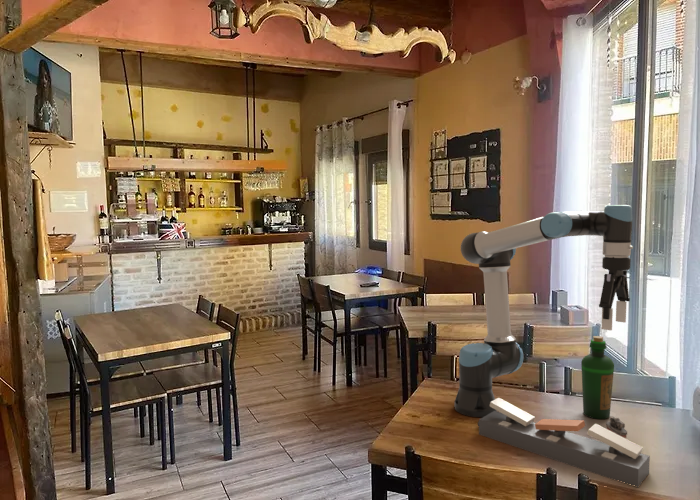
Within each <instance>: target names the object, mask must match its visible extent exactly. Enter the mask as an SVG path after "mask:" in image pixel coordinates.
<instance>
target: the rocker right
mask: <svg viewBox="0 0 700 500" xmlns="http://www.w3.org/2000/svg"><path fill="white" fill-rule="evenodd" d="M586 435H588V436H590V437H592V438H593V439H595V440H597V441H600V442H603V443H605V444H607V445H609V446H611V447H613V448H615V449H617V450H619V451H620V452H622V453H624V454H626V455H628V456H630V457H632V458H634V459H636V458H637V457H638V456H639V455H640V454H641V453H643V449H644V447H643V446H642V445H639V444H638V443H635V442H633V441H631V440H629V439H627V438H626V439H625V438H623V437H622V436H620V435H618V434H616V433H614V432H612V431H610V430H608V429H607V427H606V428H605V427H603V426H601V425H599V424H598V423H594V424H593V425H592V426H591V427H590V428H588V430H587V433H586Z"/></svg>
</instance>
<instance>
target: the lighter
mask: <svg viewBox="0 0 700 500" xmlns="http://www.w3.org/2000/svg"><path fill="white" fill-rule="evenodd" d="M605 425H606V429H608V430H610V431H612V432H614V433H616V434H618V435H620V436H622V437H623V438H625V439H627V435H628V430H627V429H625V427H626V425H625V422H623V421H621V420H620V418H619V417H616V416H610V417H609V421H606V423H605Z"/></svg>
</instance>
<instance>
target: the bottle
mask: <svg viewBox="0 0 700 500" xmlns="http://www.w3.org/2000/svg"><path fill="white" fill-rule="evenodd" d="M592 338H593V339H591V340H590V343H589V348H590V349H591V351H590V352H591V353H589V354H587V355H584V357H583V358H582V359H581V362H580V363H581V364H580V365H581V384H582V385H581V386H582V407H583V411H582V412H583V413H582V414H584V415H585V416H587V417H588V418H592V419H597V420H605V419H607V418H608V419H609V418H610V415H611V406H612V405H611V403H612V393H613V383H614V381H613V380H614V371H615V363H614V361H613V360H612V358H610V357H609V356H607V355H605V350H606V349H607V343H606V341H605V340H604V337H603V336H601V335H593V336H592Z"/></svg>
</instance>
